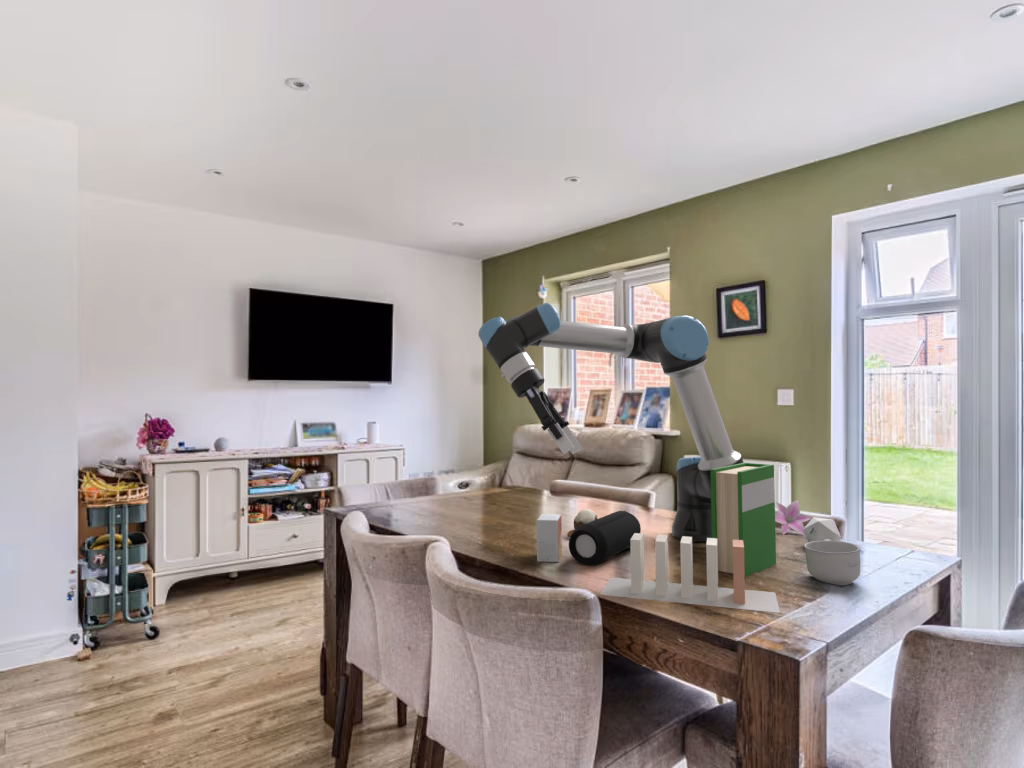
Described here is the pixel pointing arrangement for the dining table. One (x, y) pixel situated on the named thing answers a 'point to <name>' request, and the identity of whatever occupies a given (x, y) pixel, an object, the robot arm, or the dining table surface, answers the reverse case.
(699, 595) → the mat
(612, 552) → the portable speaker
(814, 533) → the die
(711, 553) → the domino
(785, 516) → the lily
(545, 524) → the small box
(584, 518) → the skull
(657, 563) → the domino
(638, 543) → the domino
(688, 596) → the domino
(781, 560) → the dining table surface
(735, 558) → the domino
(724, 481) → the hardback book
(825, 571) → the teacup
